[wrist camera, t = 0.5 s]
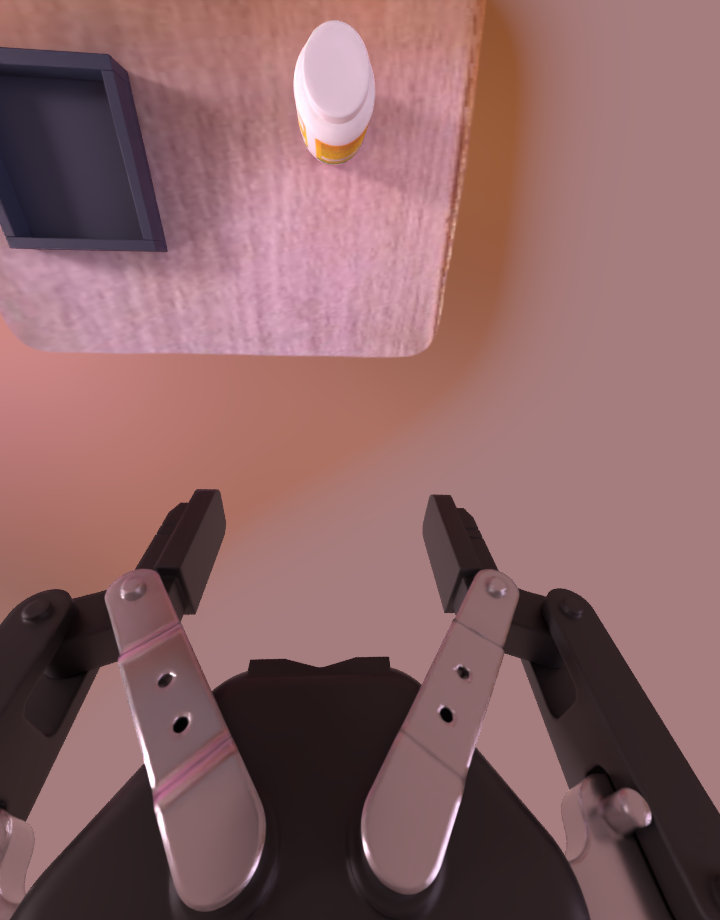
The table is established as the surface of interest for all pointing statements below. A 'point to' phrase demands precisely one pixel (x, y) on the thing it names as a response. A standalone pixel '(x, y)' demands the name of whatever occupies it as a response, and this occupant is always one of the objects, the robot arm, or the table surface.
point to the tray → (73, 155)
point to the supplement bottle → (334, 92)
